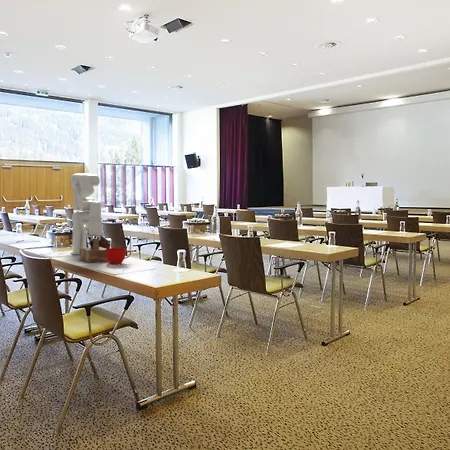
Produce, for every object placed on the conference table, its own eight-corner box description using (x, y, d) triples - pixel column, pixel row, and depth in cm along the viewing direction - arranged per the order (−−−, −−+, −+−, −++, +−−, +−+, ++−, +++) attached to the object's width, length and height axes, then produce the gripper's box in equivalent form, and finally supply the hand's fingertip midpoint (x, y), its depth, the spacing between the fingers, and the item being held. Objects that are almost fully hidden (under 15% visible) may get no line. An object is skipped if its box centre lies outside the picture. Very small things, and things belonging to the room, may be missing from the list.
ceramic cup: (133, 264, 311) (134, 249, 310) (108, 266, 303) (108, 250, 302) (127, 261, 322) (128, 247, 321) (103, 263, 314) (103, 248, 313)
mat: (77, 260, 321) (77, 259, 321) (99, 258, 333) (99, 257, 333) (89, 263, 309) (89, 263, 309) (112, 261, 320) (112, 261, 320)
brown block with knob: (79, 259, 321) (79, 238, 320) (98, 257, 331) (99, 237, 330) (89, 262, 311) (90, 240, 309) (109, 260, 321) (109, 239, 320)
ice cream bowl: (106, 258, 334) (106, 237, 333) (92, 257, 336) (92, 236, 335) (112, 256, 344) (113, 236, 343) (98, 255, 347) (99, 235, 346)
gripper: (103, 218, 327) (102, 244, 329) (81, 219, 315) (80, 246, 317) (108, 219, 322) (108, 245, 323) (86, 220, 310) (86, 247, 312)
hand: (94, 245), depth 320 cm, fingers closed on brown block with knob, 4 cm apart
